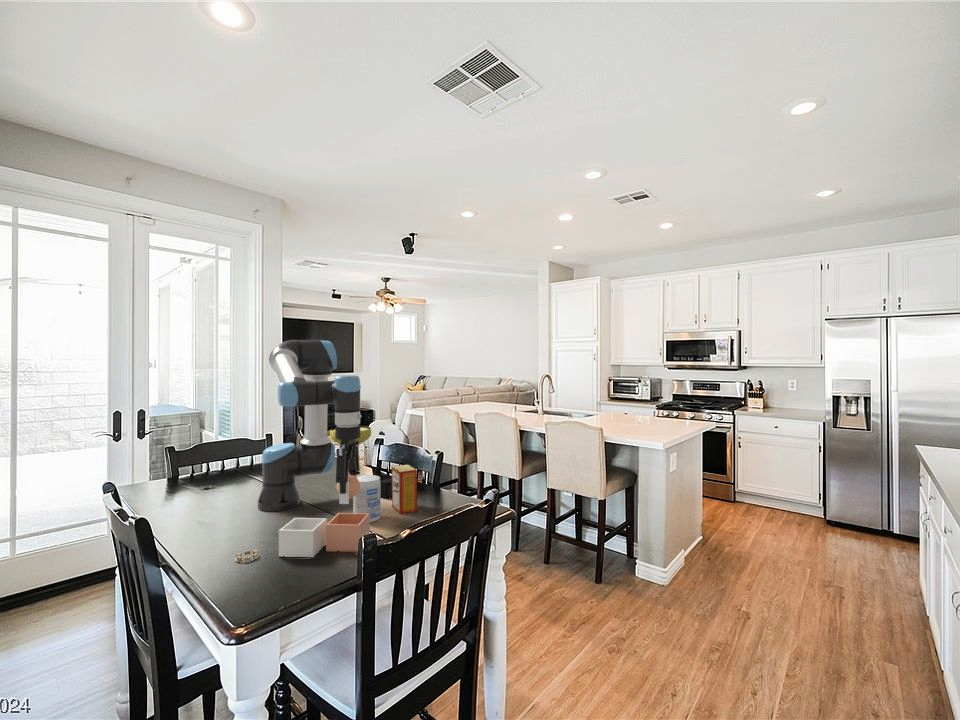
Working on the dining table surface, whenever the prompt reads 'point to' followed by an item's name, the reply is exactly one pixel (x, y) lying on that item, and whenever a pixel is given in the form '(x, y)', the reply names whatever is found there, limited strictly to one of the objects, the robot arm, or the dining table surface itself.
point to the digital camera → (386, 488)
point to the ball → (352, 486)
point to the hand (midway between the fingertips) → (348, 499)
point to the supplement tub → (368, 497)
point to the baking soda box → (404, 488)
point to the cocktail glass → (364, 436)
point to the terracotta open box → (346, 531)
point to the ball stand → (239, 558)
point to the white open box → (302, 537)
